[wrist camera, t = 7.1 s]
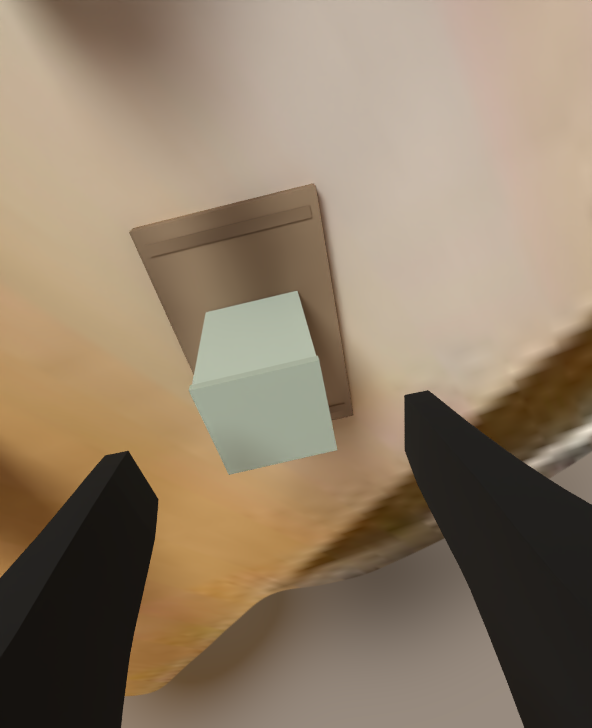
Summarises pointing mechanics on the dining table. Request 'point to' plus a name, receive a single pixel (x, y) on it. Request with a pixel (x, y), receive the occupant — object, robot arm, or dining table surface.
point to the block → (261, 385)
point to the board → (248, 272)
